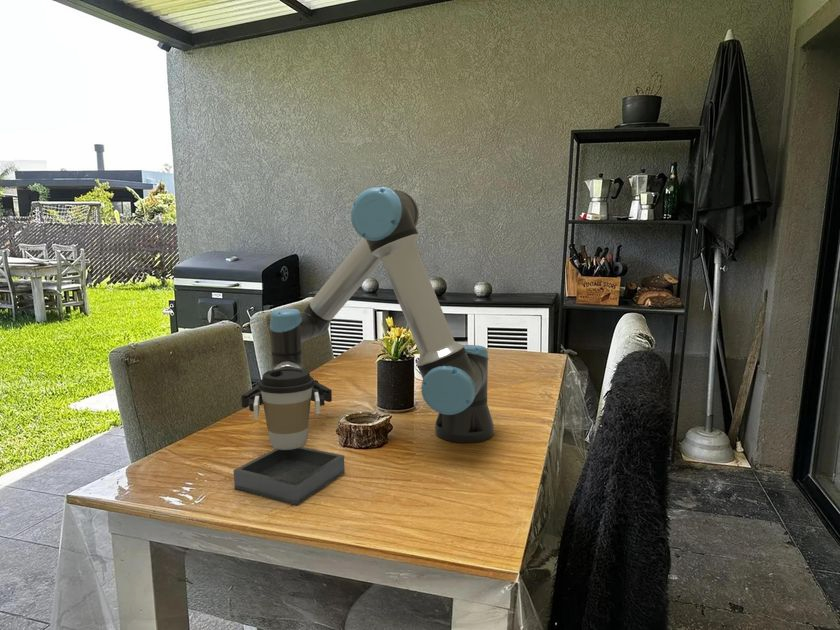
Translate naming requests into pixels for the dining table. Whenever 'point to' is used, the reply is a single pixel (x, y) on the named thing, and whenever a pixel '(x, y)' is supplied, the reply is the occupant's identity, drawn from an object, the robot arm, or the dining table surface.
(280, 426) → the coffee cup
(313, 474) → the square tray
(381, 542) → the dining table surface
